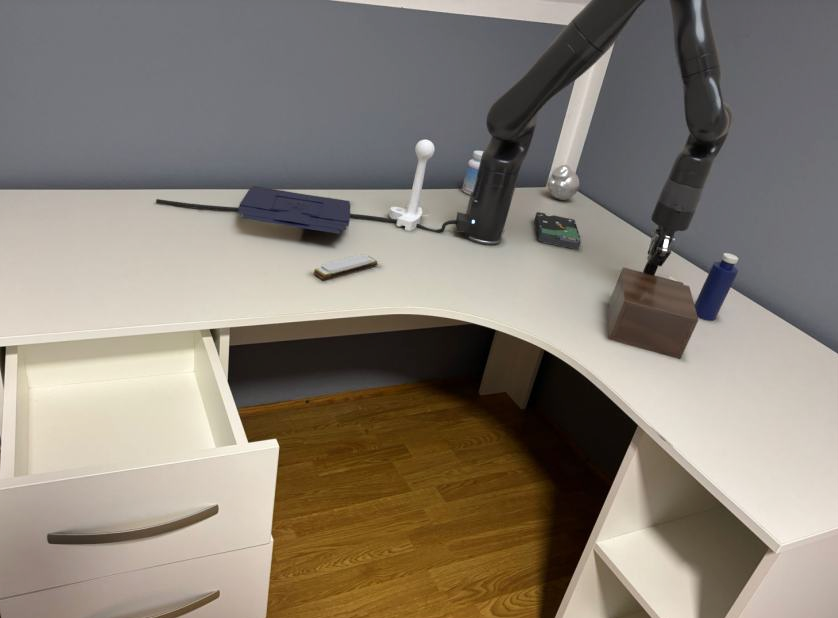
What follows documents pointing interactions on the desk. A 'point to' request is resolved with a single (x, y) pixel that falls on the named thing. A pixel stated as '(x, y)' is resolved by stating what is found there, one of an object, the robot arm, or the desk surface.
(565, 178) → the silver rounded lump
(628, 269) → the drawer
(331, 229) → the laptop stand
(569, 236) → the disk drive
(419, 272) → the desk surface
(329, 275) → the harmonica
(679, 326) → the cabinet
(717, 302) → the bottle
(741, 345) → the desk surface
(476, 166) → the pill bottle
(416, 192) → the joystick
